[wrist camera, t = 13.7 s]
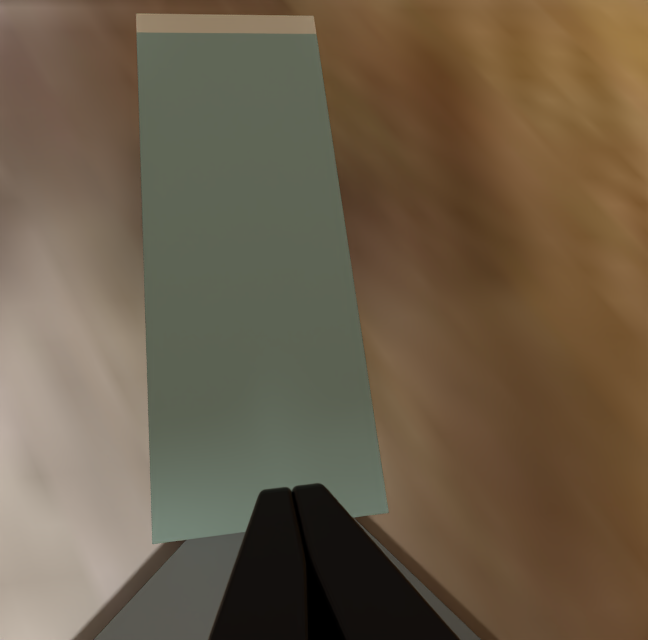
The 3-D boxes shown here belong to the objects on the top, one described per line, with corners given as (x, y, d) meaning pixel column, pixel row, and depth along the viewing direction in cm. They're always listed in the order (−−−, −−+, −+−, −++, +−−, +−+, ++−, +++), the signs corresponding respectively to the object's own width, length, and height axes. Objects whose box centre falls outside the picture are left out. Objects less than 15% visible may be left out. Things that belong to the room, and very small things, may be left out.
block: (388, 512, 12) (313, 15, 16) (152, 544, 11) (135, 13, 15) (348, 516, 16) (297, 124, 20) (176, 539, 15) (158, 127, 19)
